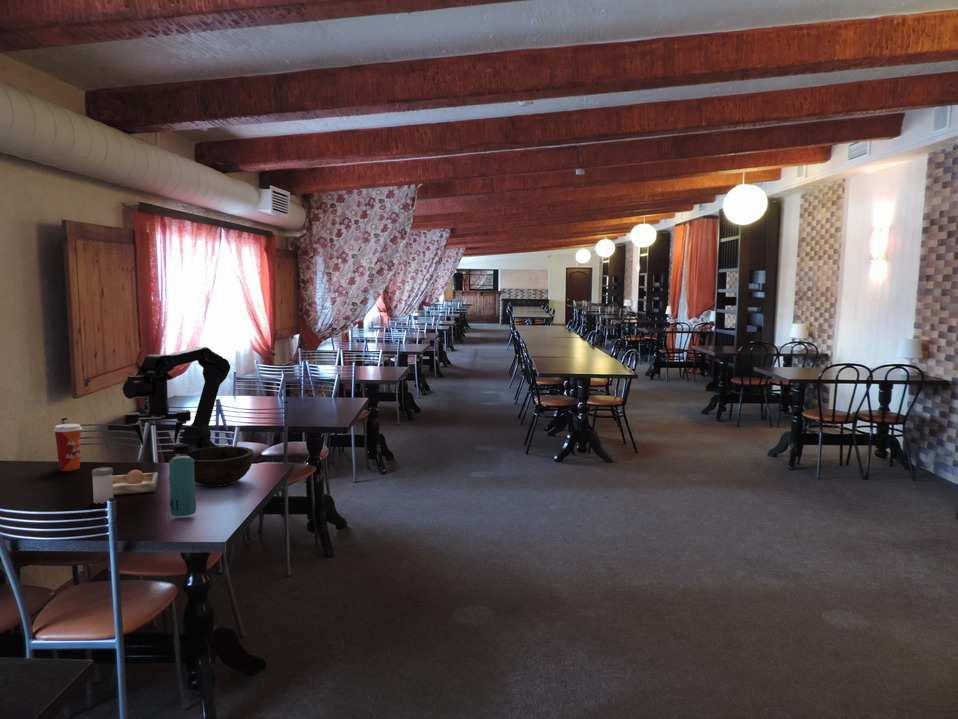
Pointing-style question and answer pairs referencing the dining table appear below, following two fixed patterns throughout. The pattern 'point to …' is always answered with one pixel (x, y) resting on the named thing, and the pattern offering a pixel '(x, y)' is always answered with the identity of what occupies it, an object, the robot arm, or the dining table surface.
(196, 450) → the bowl
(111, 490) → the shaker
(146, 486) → the tray
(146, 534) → the dining table surface
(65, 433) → the coffee cup
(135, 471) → the ball
